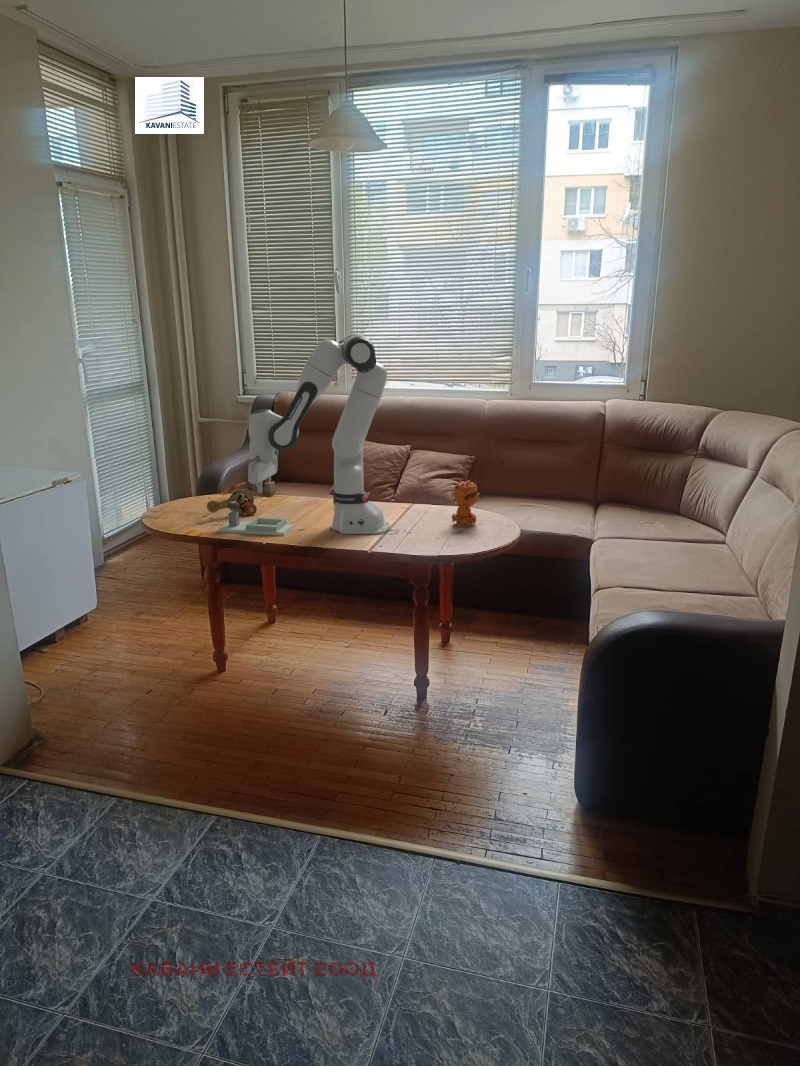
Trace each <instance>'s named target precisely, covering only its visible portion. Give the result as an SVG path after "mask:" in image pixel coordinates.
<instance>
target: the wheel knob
mask: <svg viewBox="0 0 800 1066" xmlns="http://www.w3.org/2000/svg"><path fill="white" fill-rule="evenodd" d="M235 508H239V502H228V503H227V508H226V509H229V510H230V509H232V511H231V512H232V513H235Z"/></svg>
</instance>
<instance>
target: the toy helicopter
mask: <svg viewBox="0 0 800 1066" xmlns="http://www.w3.org/2000/svg"><path fill="white" fill-rule="evenodd" d="M246 484H247V481H243V482H240V483H237V484H232V485H230V488H228V489H226V490H224V491H222V492H221V494H220V495H222V496H224V495H226V494H228V493H230V492H231V493H232V494H231V495H230V496H229V498H227V499H223V500H220V501H216V500H209V501H208V502H207V503H206V509H207V511H208V512H209V513H217V512H218V511H219V510H222V509H223V510H225V509H228V508H227V503H228V502H239V508H235V512H239V515H242V514H246V515H248V516H254V515H255V514H257V506H256V504H254V502H255V497H254V496H253V491H252V490H250V489H247V488H241V487H242V486H245V485H246ZM240 488H241V489H240ZM229 510H230V512H232V509H229Z"/></svg>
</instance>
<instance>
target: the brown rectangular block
mask: <svg viewBox="0 0 800 1066" xmlns="http://www.w3.org/2000/svg"><path fill="white" fill-rule="evenodd" d="M251 486H252V487H251V488H252V490H251V492H252V493H253V496H254V498H255V497H257V498H258V497H259V498H272V497H274V496H275V495H276V481H274V480H272V481H265V480H263V481H262V487H263V488H264V489H263V490H264V491H263V492H262V493H258V489H257V486H256V484H251Z"/></svg>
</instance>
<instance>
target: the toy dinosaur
mask: <svg viewBox="0 0 800 1066" xmlns="http://www.w3.org/2000/svg"><path fill="white" fill-rule="evenodd" d="M471 480H472V479H469V480H468V479H467V480H465V481H464V480H463V481H460V482H459V483H458V484H456V485H455V486H453V488H452V490H451V494H450V495H451V500H452V502H453V503H455V502H456V505H457V506H458V507H457V510H456V513H453V514H451V520H452V521H451V523H452V524H453V523H454V522H456V525H457V526H458V525H460V526H459V527H461V526H468V527H470V526H469V525H471V524H472V525H473V524H474V525H476V521H477V515H476V514H475V513H473V512H472V509H471V506H474V504H476V503H477V501H478V499H479V496H480V495H481V493H479V492H477V491H478V486H477V484H476V483H475V482H471ZM472 525H471V526H472Z"/></svg>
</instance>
